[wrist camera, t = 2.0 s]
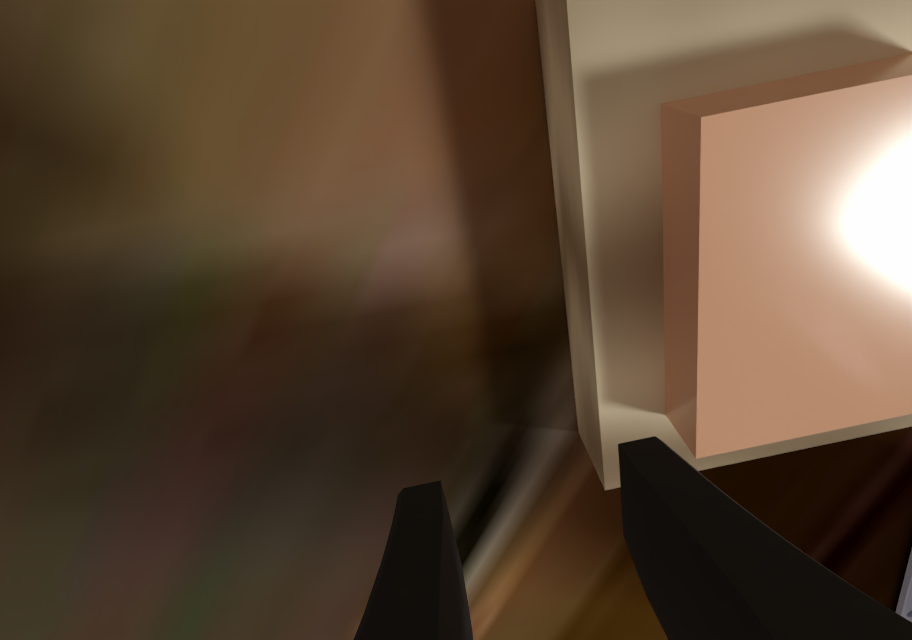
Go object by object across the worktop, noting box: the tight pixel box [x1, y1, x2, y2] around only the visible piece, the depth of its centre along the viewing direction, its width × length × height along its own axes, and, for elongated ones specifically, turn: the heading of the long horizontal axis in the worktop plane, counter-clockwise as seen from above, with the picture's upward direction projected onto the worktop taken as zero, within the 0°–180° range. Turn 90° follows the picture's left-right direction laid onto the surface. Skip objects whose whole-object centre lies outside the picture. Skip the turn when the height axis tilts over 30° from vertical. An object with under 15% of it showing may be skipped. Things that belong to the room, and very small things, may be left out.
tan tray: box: [535, 0, 912, 490], centre depth 17 cm, size 14×12×3 cm
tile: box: [661, 53, 912, 459], centre depth 15 cm, size 9×6×2 cm, turn 10°
